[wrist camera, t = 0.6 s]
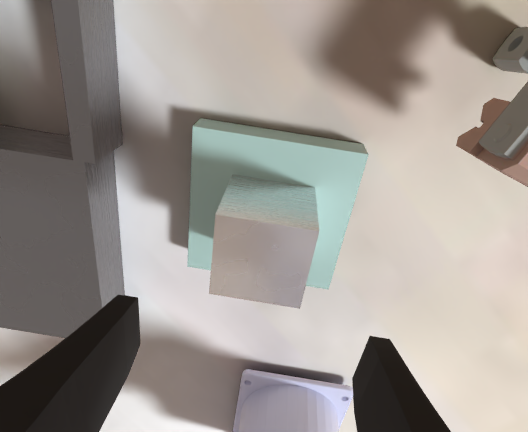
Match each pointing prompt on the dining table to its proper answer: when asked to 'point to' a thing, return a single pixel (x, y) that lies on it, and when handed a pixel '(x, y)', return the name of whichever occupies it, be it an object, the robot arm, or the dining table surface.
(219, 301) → the dining table surface
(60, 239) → the grey sliding box
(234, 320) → the dining table surface
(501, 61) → the clamp
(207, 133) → the mint green square slab
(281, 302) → the block
